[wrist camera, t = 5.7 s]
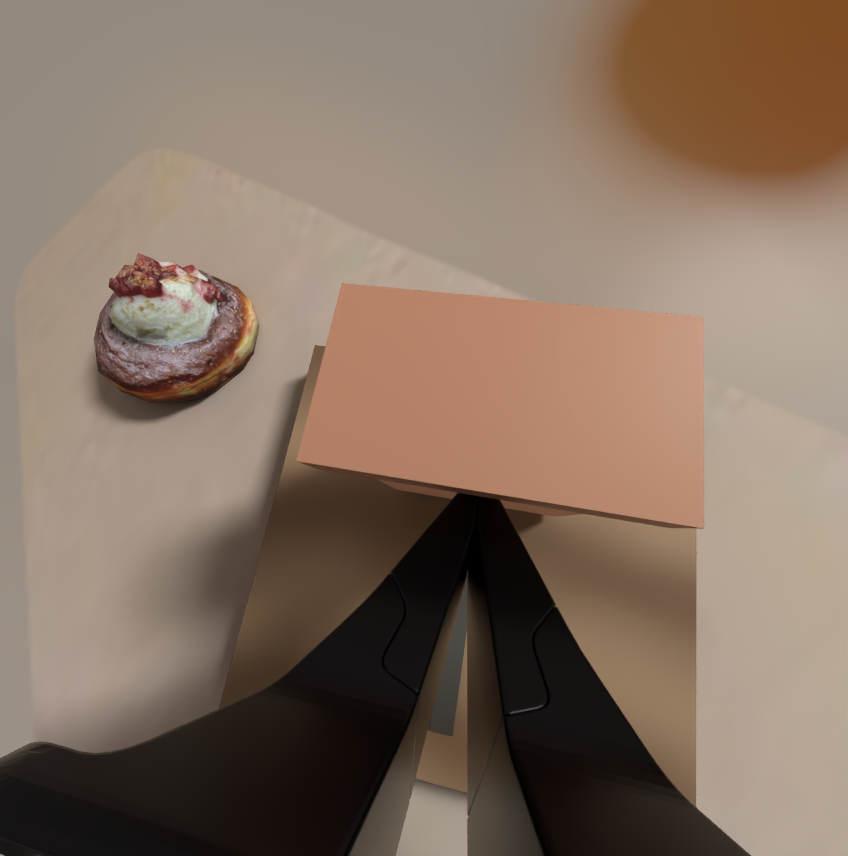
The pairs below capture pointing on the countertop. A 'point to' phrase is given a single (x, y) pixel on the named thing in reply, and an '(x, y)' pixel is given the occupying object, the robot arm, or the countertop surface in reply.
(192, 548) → the countertop surface
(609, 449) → the handle
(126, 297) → the pastry
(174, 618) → the countertop surface
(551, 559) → the fader track
